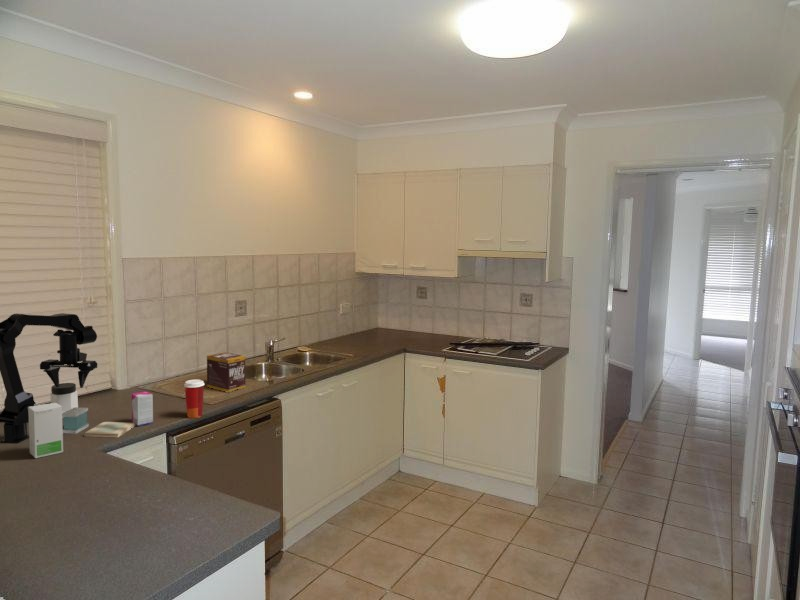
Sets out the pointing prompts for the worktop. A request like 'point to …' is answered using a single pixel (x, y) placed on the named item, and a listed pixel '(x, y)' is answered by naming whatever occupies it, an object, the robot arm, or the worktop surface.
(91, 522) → the worktop surface
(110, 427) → the birch stand
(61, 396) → the jar
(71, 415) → the housing
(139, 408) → the supplement box
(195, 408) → the paper cup
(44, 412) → the skincare box
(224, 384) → the supplement box
